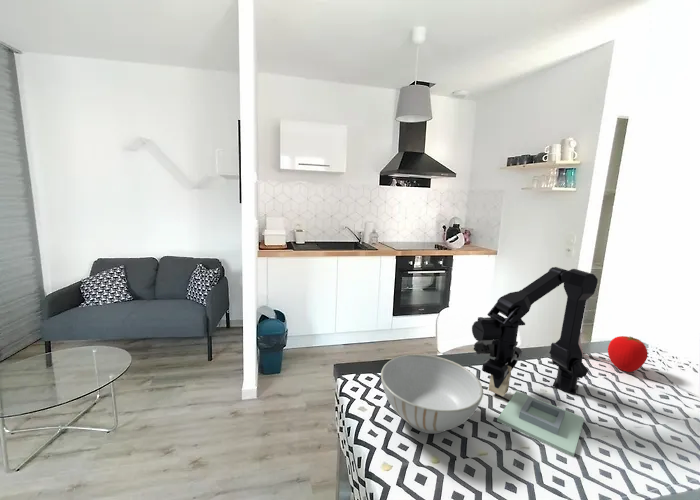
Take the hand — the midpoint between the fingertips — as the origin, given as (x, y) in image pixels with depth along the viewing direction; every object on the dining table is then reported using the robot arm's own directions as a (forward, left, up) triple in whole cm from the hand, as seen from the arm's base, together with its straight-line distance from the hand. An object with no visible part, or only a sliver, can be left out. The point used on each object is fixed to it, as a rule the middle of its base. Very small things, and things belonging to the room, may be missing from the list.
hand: (499, 384), depth 105 cm
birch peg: (0, 0, -2) cm, 2 cm away
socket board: (+4, +13, -4) cm, 14 cm away
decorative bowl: (+26, -11, -4) cm, 28 cm away
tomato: (-51, +29, -4) cm, 59 cm away
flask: (-51, +13, -4) cm, 53 cm away
